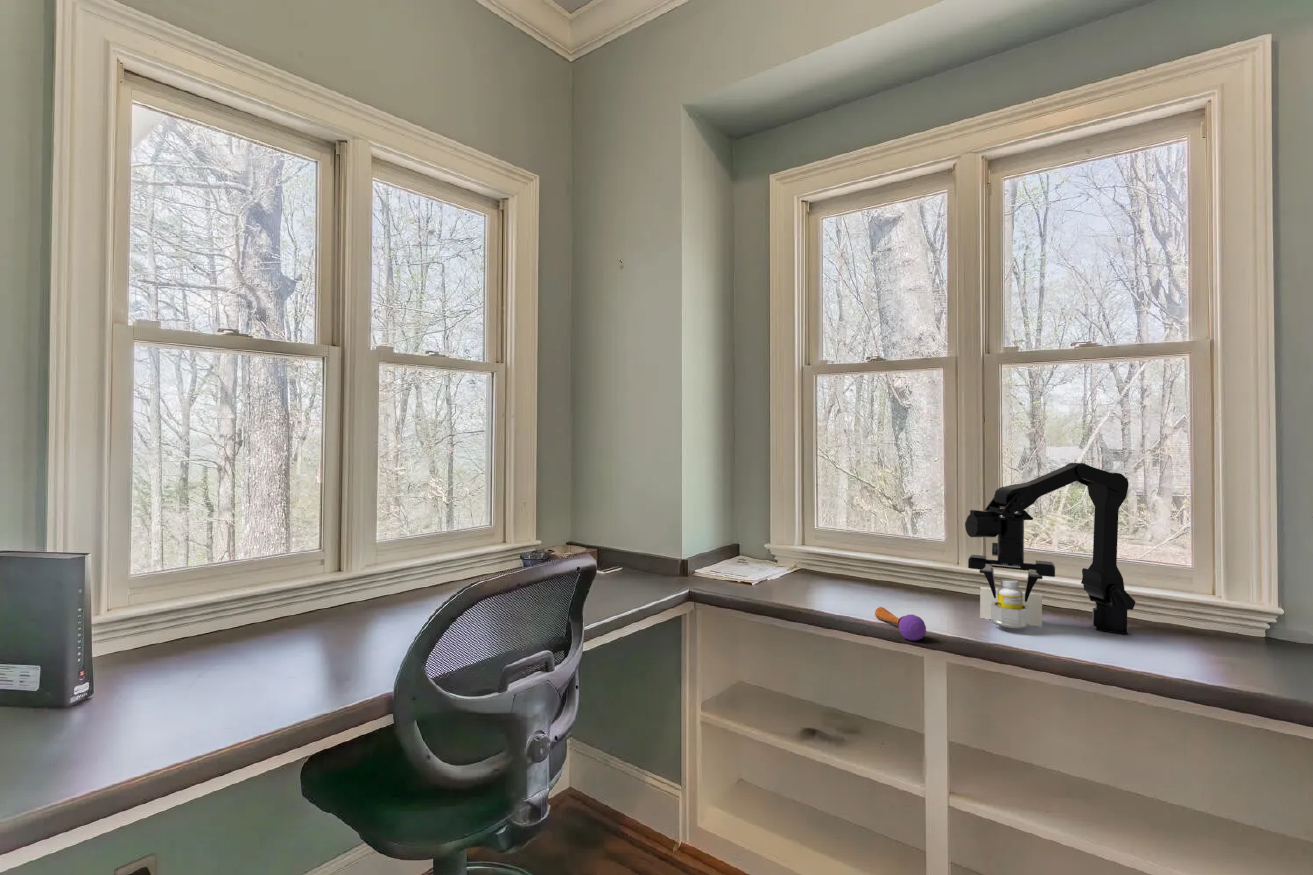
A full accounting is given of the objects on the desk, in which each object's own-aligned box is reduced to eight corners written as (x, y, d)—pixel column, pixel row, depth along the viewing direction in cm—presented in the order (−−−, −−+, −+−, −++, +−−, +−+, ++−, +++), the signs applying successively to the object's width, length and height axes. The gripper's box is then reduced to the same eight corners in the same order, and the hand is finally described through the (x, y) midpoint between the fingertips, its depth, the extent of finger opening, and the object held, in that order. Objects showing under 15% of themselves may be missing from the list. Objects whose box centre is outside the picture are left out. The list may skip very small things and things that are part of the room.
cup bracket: (1028, 619, 160) (1028, 601, 160) (1029, 630, 150) (1029, 611, 150) (992, 614, 164) (992, 597, 164) (990, 624, 154) (990, 606, 154)
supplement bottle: (998, 615, 159) (998, 577, 160) (1023, 618, 156) (1023, 579, 157) (996, 620, 155) (996, 580, 155) (1022, 623, 152) (1021, 583, 152)
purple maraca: (893, 604, 164) (932, 619, 144) (889, 626, 164) (928, 645, 144) (871, 599, 164) (908, 615, 144) (868, 622, 163) (904, 641, 144)
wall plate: (1041, 624, 160) (1041, 593, 160) (1041, 626, 158) (1042, 595, 158) (980, 616, 167) (980, 586, 167) (980, 618, 166) (980, 588, 166)
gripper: (1053, 536, 158) (1052, 598, 158) (971, 530, 168) (970, 588, 167) (1055, 542, 148) (1054, 607, 148) (968, 535, 158) (967, 597, 158)
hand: (1010, 599), depth 156 cm, fingers open, 6 cm apart
